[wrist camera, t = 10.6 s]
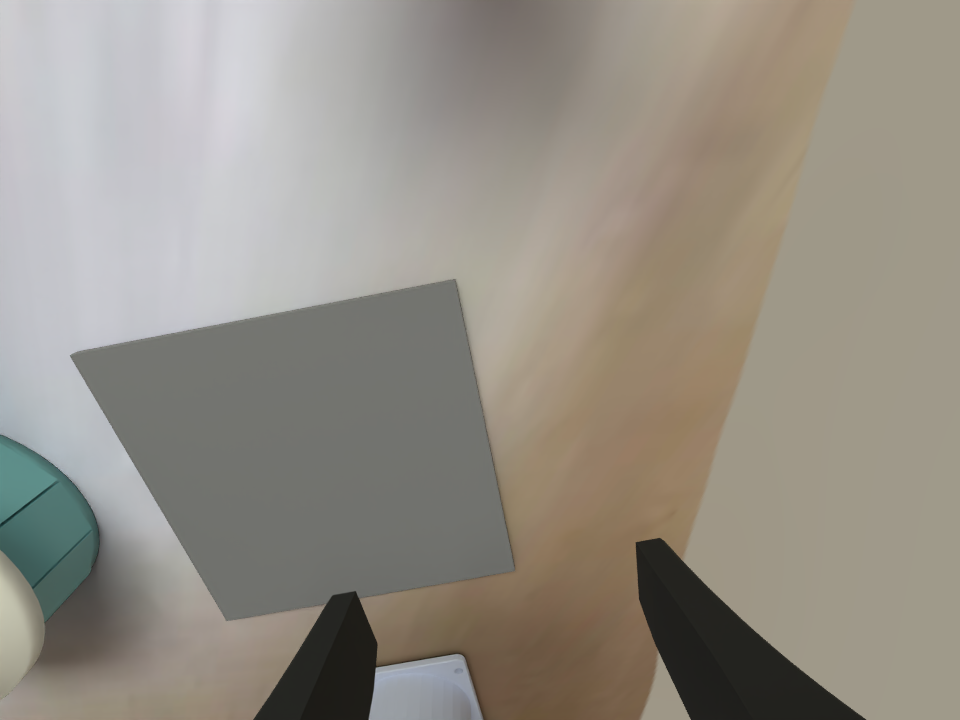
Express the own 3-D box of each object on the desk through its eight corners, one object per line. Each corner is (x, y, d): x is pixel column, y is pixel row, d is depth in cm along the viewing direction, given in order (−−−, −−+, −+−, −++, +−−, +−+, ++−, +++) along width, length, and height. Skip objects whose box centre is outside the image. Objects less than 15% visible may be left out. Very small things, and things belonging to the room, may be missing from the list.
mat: (514, 564, 24) (515, 570, 24) (230, 614, 25) (226, 621, 25) (455, 279, 18) (455, 281, 18) (77, 351, 19) (69, 355, 18)
